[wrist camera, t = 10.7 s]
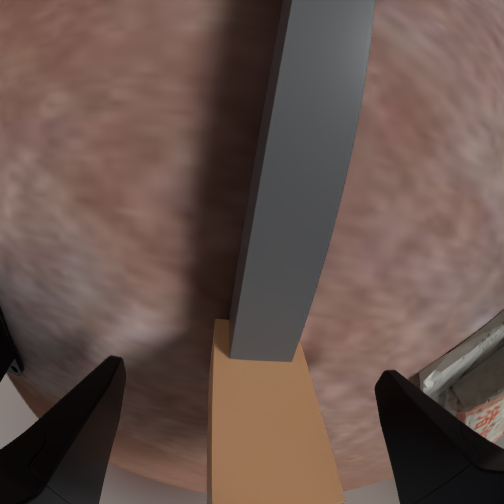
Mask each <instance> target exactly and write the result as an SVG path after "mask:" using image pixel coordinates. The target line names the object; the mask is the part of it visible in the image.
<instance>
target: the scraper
mask: <svg viewBox="0 0 504 504" xmlns="http://www.w3.org/2000/svg"><path fill="white" fill-rule="evenodd" d="M374 5H375V0H283V3H282V8H281V14H280V19H279V24H278V30H277V35H276V41H275V46H274V51H273V57H272V62H271V68H270V73H269V79H268V85H267V90H266V96H265V102H264V107H263V113H262V119H261V125H260V130H259V136H258V142H257V148H256V154H255V160H254V166H253V172H252V178H251V184H250V190H249V196H248V202H247V208H246V214H245V220H244V226H243V233H242V239H241V245H240V251H239V258H238V264H237V271H236V277H235V283H234V290H233V296H232V303H231V309H230V316H229V320H225V319H215V325H214V333H213V342H212V352H211V361H210V370H209V393H208V426H207V504H343V503H344V502H345V499H344V495H343V491H342V487H341V483H340V479H339V476H338V472H337V468H336V465H335V461H334V457H333V454H332V450H331V446H330V443H329V439H328V436H327V432H326V428H325V425H324V421H323V418H322V414H321V411H320V407H319V404H318V400H317V397H316V393H315V390H314V387H313V383H312V380H311V376H310V373H309V369H308V366H307V363H306V359H305V356H304V353H303V349H302V346H301V343H300V337H301V334H302V331H303V328H304V325H305V322H306V319H307V316H308V313H309V310H310V307H311V304H312V301H313V298H314V294H315V291H316V288H317V285H318V281H319V278H320V275H321V271H322V268H323V264H324V261H325V257H326V254H327V250H328V247H329V243H330V240H331V236H332V232H333V228H334V225H335V221H336V217H337V213H338V209H339V205H340V201H341V197H342V193H343V189H344V185H345V180H346V176H347V172H348V167H349V163H350V158H351V153H352V149H353V144H354V139H355V134H356V129H357V124H358V119H359V113H360V108H361V102H362V96H363V90H364V84H365V78H366V72H367V65H368V58H369V50H370V43H371V34H372V25H373V16H374Z"/></svg>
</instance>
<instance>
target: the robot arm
mask: <svg viewBox="0 0 504 504" xmlns="http://www.w3.org/2000/svg"><path fill="white" fill-rule="evenodd" d="M7 371H8V372H11V373H13V374H16V375H19V376H20V375H22V373H23V371H24V366H23V364H22V362H21V360H20V357H19V355H18V353H17V350H16V348H15V346H14V343H13V341H12V338H11V336H10V333H9V331H8V328H7V325H6V322H5V320H4V317H3V314H2V311H1V308H0V382H1V380H2V378H3V377H4V375H5V373H6V372H7ZM125 382H126V372H125V366H124V361H123V358H121V357H118V356H112V355H111V356H109V357H108V358H107V359H105V360H104V361H103V362H102V363H101V364H100V365H99V366H98V367H96V368H95V369H94V370H93V371H92V372H91V373H90V374H89V375H87V376H86V377H85V378H84V379H83V380H82V381H81V382H80V383H79V384H77V385H76V386H75V387H74V388H73V389H72V390H71V391H70V392H69V393H67V394H66V395H65V396H64V397H63V398H62V399H61V400H60V401H59V402H57V403H56V404H55V405H54V406H53V407H52V408H51V409H50V410H49V411H48V412H46V413H45V414H44V415H43V416H42V418H40V419H39V420H38V421H37V422H35V424H33V425H32V426H31V427H30V428H29V429H27V430H26V431H25V432H24V433H22V434H21V435H20V436H19V437H17V438H16V439H15V440H13V441H12V442H10V443H9V444H8V445H6V446H5V447H3V448H2V449H0V504H99V501H100V496H101V491H102V487H103V482H104V478H105V473H106V469H107V465H108V461H109V457H110V453H111V449H112V445H113V441H114V438H115V434H116V430H117V427H118V423H119V418H120V412H121V406H122V399H123V393H124V387H125ZM375 395H376V400H377V406H378V412H379V418H380V423H381V427H382V431H383V435H384V438H385V442H386V446H387V450H388V454H389V458H390V462H391V466H392V470H393V474H394V478H395V482H396V487H397V491H398V496H399V501H400V504H504V449H503V448H501V447H499V446H497V445H496V444H494V443H492V442H491V441H489V440H488V439H486V438H484V437H483V436H481V435H480V434H478V433H477V432H475V431H474V430H472V429H471V428H470V427H468V426H467V425H465V424H464V423H463V422H462V421H460V420H458V418H456V417H455V416H454V415H452V414H451V413H450V412H449V411H447V410H446V409H445V408H443V407H442V406H441V405H440V404H438V403H437V402H436V401H434V400H433V399H432V398H430V397H429V396H428V395H427V394H425V393H424V392H423V391H421V390H420V389H419V388H418V387H416V386H415V385H414V384H412V383H411V382H410V381H409V380H407V379H406V378H405V377H403V376H402V375H401V374H400V373H398V372H397V371H396V370H386V371H384V372H383V373H382V375H381V377H380V378H379V380H378V381H377V383H376V385H375Z"/></svg>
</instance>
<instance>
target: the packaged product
mask: <svg viewBox="0 0 504 504" xmlns="http://www.w3.org/2000/svg"><path fill="white" fill-rule="evenodd" d="M419 377H420V389H421V391H423V392H424V393H425V394H427V395H428V396H429V397H430V398H432V399H433V400H434V401H436V402H437V403H438V404H440V405H441V406H442V407H443V408H445V409H446V410H447V411H449V412H450V413H451V414H452V415H454V416H455V417H456V418H458V420H460V421H462V422H463V423H464V424H465V425H467V426H468V427H470V428H471V429H472V430H474V431H475V432H477V433H478V434H480V435H481V436H483V437H484V438H486V439H488V440H489V441H491V442H492V443H495V442H496V441H497V440H498V439H499V438H500V437H501V436H502V435H503V434H504V310H503V311H502V312H501V313H500V314H498V315H497V316H496V317H495V318H494V319H492V320H491V321H490V322H489V323H487V324H486V325H485V326H483V327H482V328H481V329H479V330H478V331H477V332H476V333H475V334H473V335H472V336H471V337H469V338H468V339H467V340H466V341H464V342H463V343H462V344H460V345H459V346H458V347H456V348H455V349H454V350H452V351H451V352H449V353H447V354H446V355H444V356H442V357H440V358H439V359H437V360H436V361H435V362H433V363H432V364H430V365H429V366H428V367H426V368H425V369H423V370H422V371H420V372H419Z"/></svg>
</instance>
